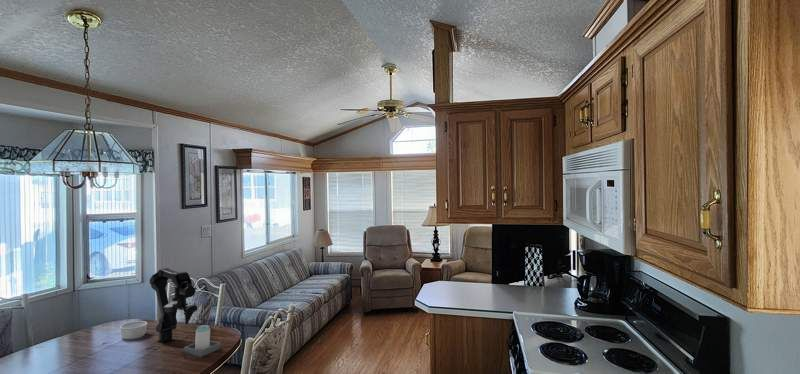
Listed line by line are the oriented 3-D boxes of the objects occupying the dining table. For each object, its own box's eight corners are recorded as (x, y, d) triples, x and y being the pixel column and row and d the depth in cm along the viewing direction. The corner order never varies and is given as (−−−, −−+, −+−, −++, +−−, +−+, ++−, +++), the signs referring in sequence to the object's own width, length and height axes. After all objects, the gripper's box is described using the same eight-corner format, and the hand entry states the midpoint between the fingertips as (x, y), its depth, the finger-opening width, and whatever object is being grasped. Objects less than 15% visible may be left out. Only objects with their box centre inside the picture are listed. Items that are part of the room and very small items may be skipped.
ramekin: (151, 335, 222) (151, 323, 222) (125, 342, 211) (126, 330, 211) (140, 330, 229) (141, 319, 229) (115, 337, 218) (116, 325, 218)
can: (212, 346, 206) (213, 324, 206) (204, 351, 199) (205, 329, 199) (200, 345, 206) (201, 324, 207) (191, 350, 199) (193, 328, 200)
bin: (183, 352, 199) (183, 347, 199) (203, 344, 211) (203, 339, 211) (201, 357, 194) (201, 351, 195) (220, 348, 206) (220, 342, 206)
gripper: (154, 297, 202) (153, 326, 202) (181, 299, 197) (181, 329, 196) (172, 293, 213) (171, 320, 212) (198, 294, 208) (197, 323, 207)
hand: (179, 323), depth 207 cm, fingers open, 9 cm apart
